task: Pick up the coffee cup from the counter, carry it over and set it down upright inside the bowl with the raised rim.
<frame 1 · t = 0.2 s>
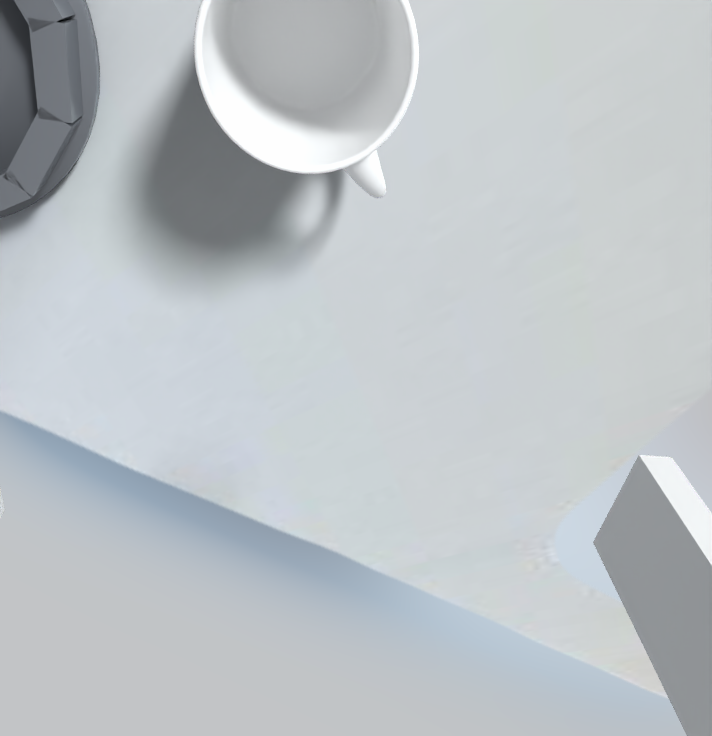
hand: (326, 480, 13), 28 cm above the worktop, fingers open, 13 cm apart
mug: (321, 61, 34), on the worktop
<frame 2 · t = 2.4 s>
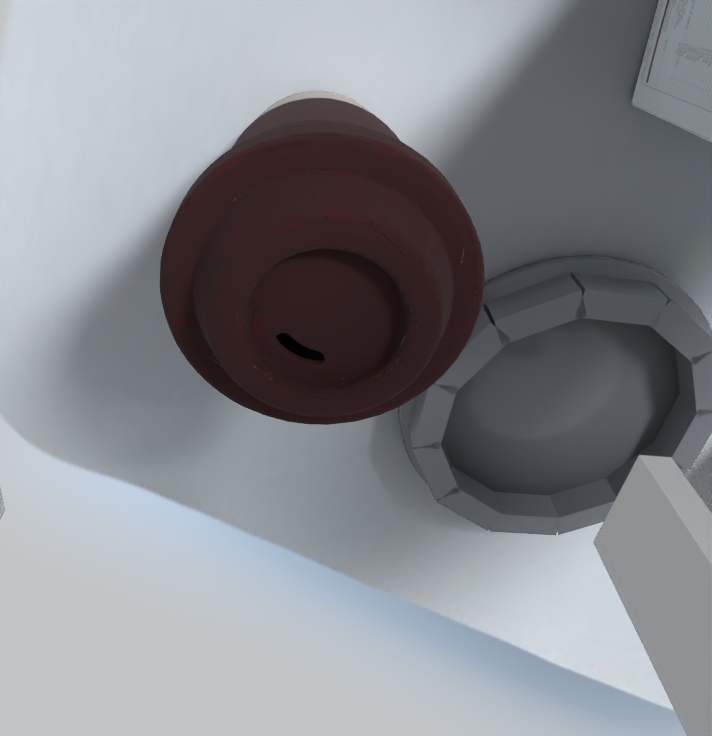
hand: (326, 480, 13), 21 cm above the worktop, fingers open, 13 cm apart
bowl: (551, 398, 39), on the worktop
coffee cup: (318, 168, 31), on the worktop
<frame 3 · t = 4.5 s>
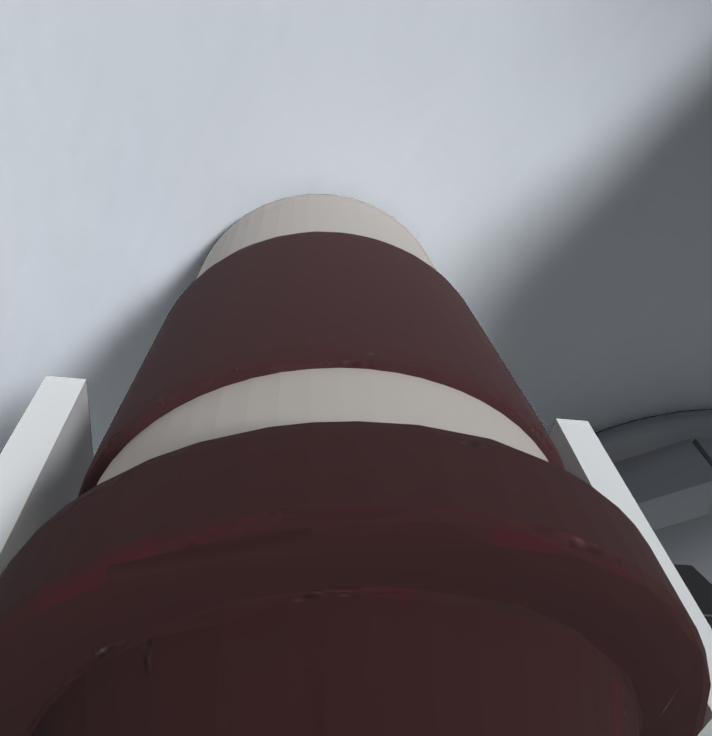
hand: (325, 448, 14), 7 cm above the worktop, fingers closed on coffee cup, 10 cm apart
bowl: (642, 578, 28), on the worktop
coffee cup: (318, 301, 20), on the worktop, touching gripper
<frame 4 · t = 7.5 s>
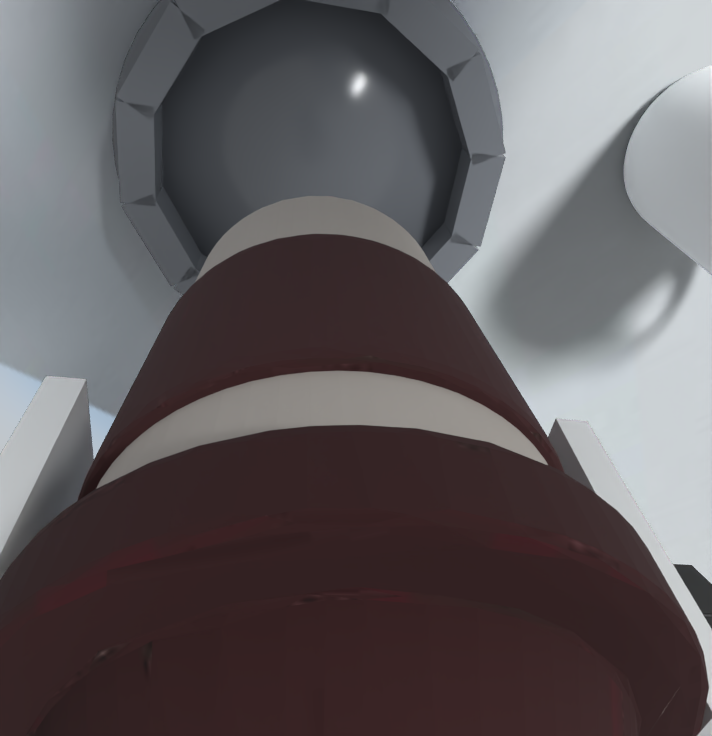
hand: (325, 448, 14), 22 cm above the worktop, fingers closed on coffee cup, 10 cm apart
mug: (702, 176, 34), on the worktop
bowl: (312, 161, 32), on the worktop
coffee cup: (318, 302, 20), point 15 cm above the worktop, touching gripper
when the fingers open (9 cm above the worktop, at t = 10.7 s): coffee cup drops 1 cm, resting on bowl.
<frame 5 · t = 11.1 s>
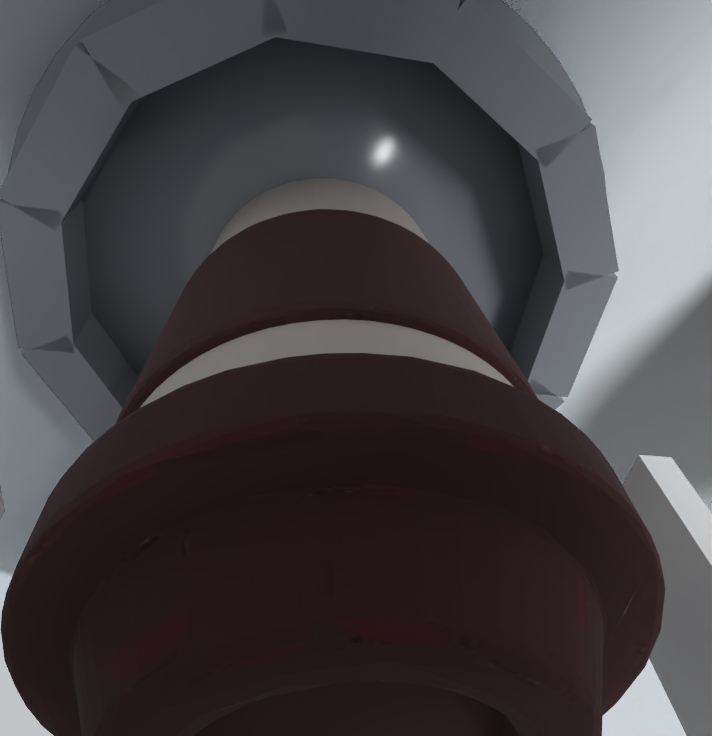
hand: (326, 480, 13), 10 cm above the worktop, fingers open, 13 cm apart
bowl: (316, 269, 22), on the worktop
coffee cup: (322, 280, 21), point 1 cm above the worktop, touching bowl
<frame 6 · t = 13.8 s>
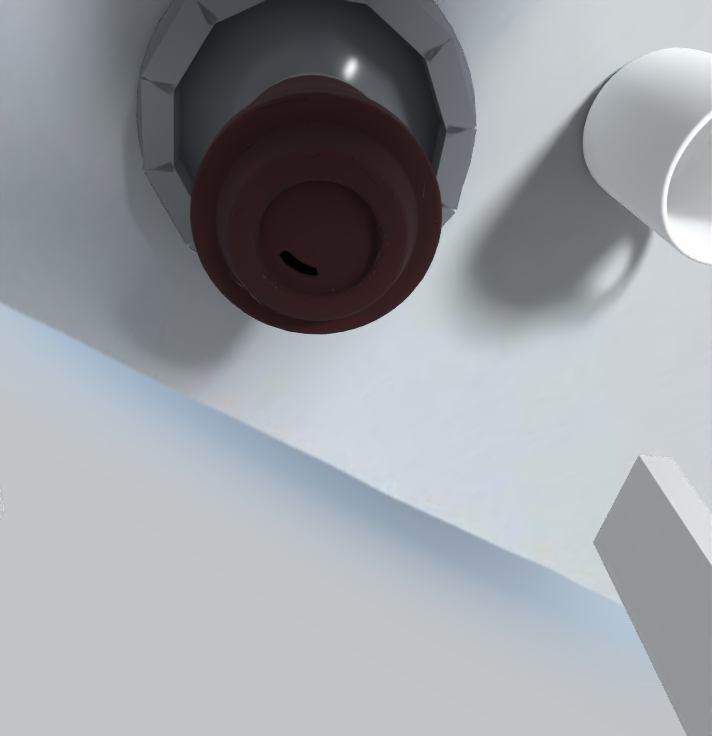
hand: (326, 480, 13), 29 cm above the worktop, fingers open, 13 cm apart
mug: (653, 149, 39), on the worktop
bowl: (309, 135, 37), on the worktop
coffee cup: (312, 138, 36), point 1 cm above the worktop, touching bowl
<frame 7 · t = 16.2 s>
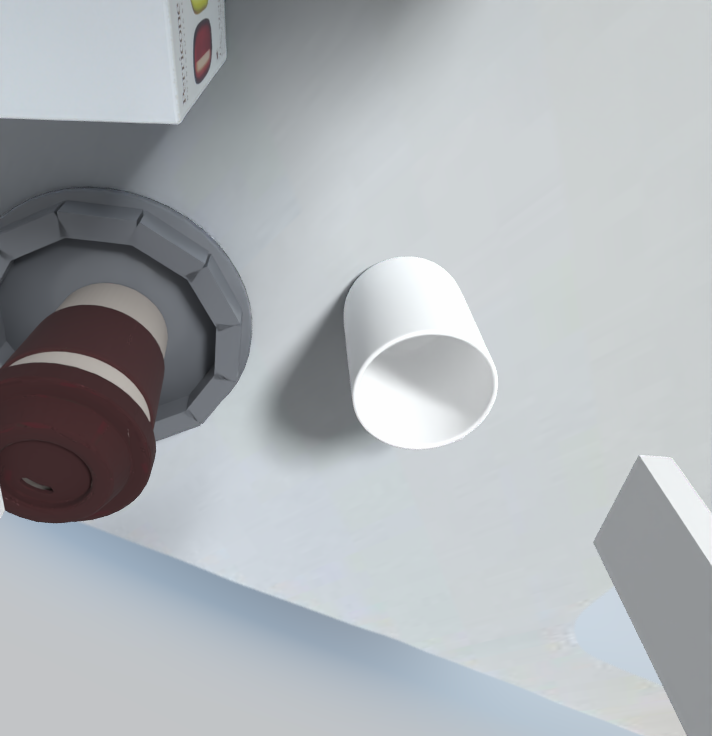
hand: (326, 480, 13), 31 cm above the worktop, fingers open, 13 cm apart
mug: (410, 323, 47), on the worktop
bowl: (116, 320, 45), on the worktop
coffee cup: (116, 325, 44), point 1 cm above the worktop, touching bowl
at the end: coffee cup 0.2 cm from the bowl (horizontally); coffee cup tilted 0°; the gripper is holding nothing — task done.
